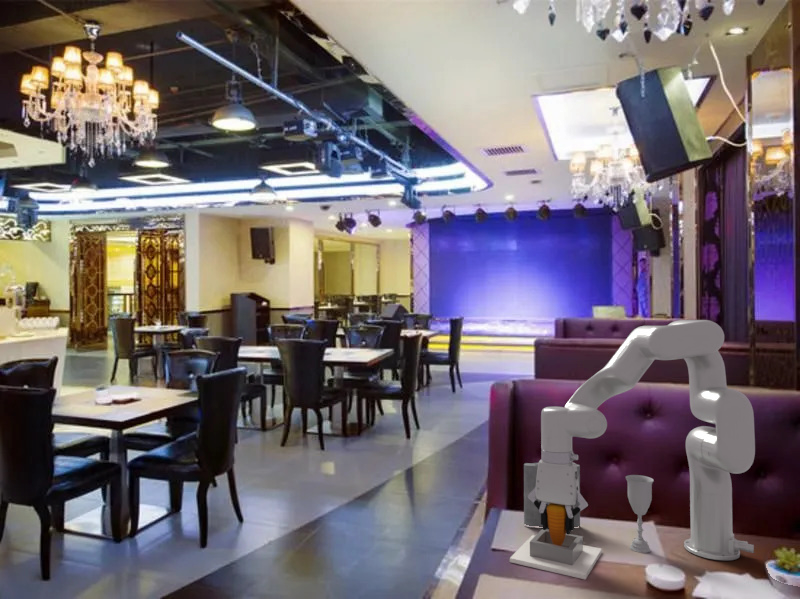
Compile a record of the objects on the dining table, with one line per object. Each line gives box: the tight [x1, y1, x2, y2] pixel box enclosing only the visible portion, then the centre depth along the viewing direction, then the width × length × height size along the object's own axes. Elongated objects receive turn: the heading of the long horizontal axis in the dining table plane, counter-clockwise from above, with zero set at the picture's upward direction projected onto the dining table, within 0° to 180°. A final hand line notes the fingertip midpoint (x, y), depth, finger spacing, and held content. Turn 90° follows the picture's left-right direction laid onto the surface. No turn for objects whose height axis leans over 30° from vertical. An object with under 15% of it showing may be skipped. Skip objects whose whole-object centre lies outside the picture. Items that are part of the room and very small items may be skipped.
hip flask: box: [523, 462, 581, 527], centre depth 164 cm, size 16×4×20 cm, turn 88°
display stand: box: [509, 529, 603, 580], centre depth 142 cm, size 18×18×4 cm
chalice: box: [625, 474, 655, 554], centre depth 148 cm, size 7×7×18 cm
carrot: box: [547, 503, 567, 546], centre depth 142 cm, size 5×5×15 cm
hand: (557, 529), depth 142 cm, fingers open, 5 cm apart
